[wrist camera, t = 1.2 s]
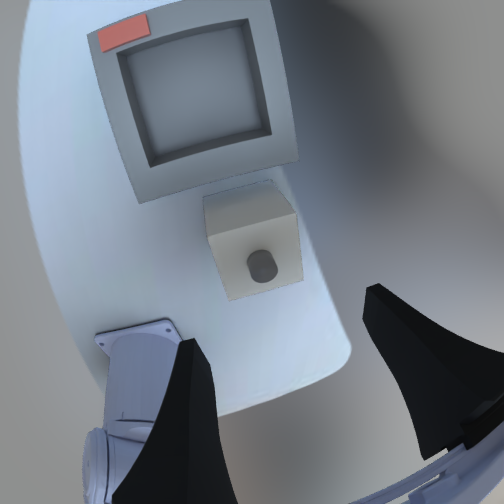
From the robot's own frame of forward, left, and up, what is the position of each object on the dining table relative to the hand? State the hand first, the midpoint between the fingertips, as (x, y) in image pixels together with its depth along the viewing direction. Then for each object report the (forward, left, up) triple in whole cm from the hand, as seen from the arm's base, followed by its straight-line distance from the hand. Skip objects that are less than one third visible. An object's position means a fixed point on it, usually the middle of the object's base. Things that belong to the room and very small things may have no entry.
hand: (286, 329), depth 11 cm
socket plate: (+9, +1, -10) cm, 13 cm away
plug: (0, 0, -10) cm, 10 cm away
